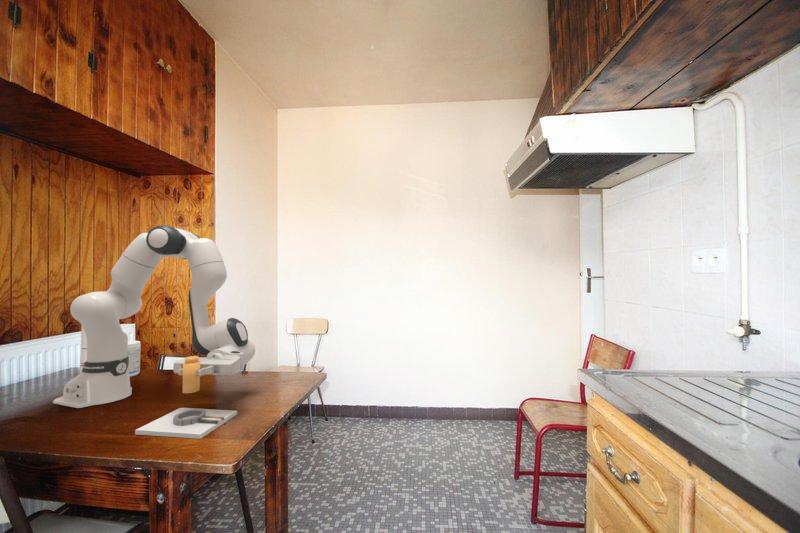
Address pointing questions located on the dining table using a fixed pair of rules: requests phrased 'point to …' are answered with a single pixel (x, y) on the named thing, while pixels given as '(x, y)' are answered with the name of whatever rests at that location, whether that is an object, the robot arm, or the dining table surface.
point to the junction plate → (184, 430)
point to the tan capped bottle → (191, 375)
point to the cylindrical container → (83, 348)
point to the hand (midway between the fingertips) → (189, 373)
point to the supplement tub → (134, 357)
